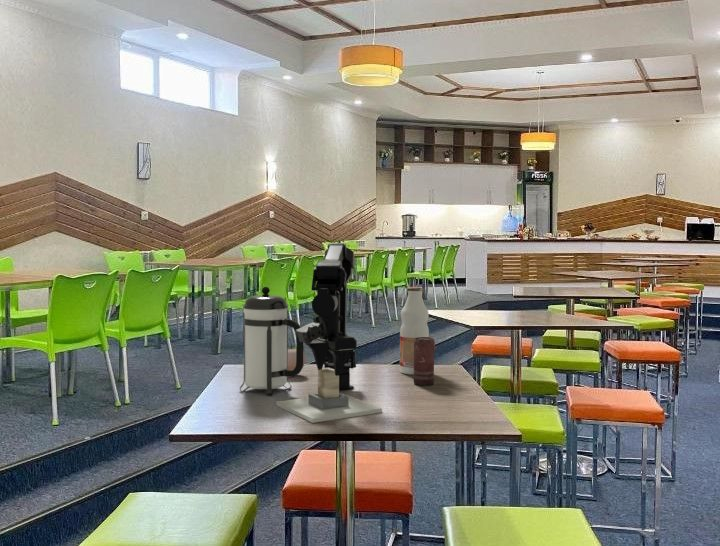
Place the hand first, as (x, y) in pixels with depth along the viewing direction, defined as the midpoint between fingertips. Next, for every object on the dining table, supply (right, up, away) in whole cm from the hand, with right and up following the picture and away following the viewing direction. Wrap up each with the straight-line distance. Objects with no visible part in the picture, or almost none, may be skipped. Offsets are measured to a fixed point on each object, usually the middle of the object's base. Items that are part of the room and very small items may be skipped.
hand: (328, 372), depth 182 cm
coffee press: (-18, -8, +21) cm, 29 cm away
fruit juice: (+26, -7, +50) cm, 57 cm away
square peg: (0, -9, +1) cm, 9 cm away
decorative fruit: (-13, -7, +43) cm, 46 cm away
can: (+28, -8, +32) cm, 43 cm away
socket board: (0, -10, +1) cm, 10 cm away
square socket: (0, -10, +1) cm, 10 cm away
